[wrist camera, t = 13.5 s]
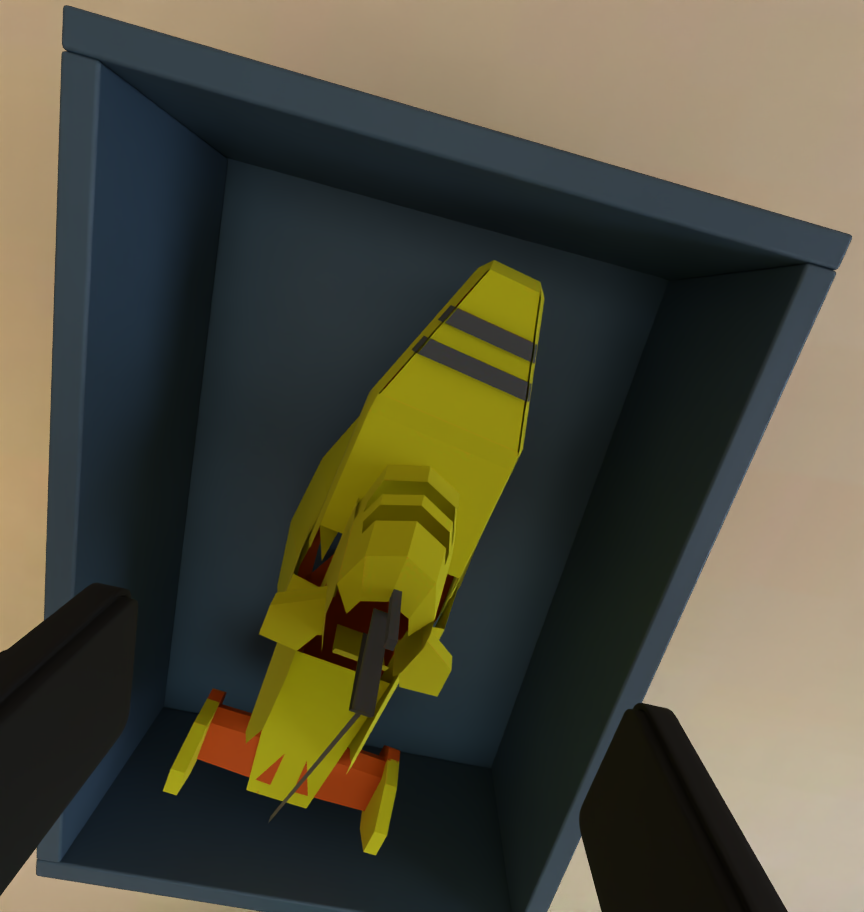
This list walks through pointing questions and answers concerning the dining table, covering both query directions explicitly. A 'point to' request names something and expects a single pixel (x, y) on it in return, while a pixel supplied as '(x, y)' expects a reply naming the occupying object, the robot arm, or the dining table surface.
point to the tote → (337, 407)
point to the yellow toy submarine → (382, 558)
